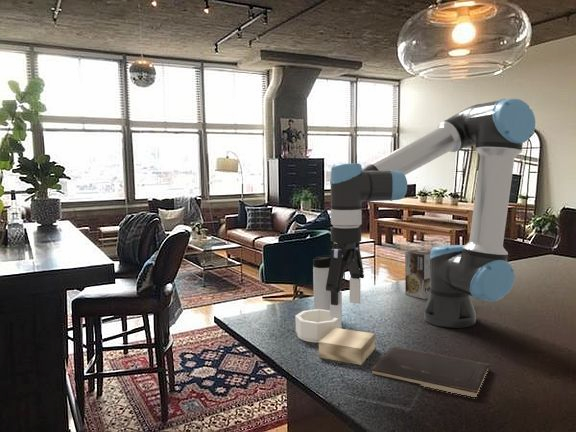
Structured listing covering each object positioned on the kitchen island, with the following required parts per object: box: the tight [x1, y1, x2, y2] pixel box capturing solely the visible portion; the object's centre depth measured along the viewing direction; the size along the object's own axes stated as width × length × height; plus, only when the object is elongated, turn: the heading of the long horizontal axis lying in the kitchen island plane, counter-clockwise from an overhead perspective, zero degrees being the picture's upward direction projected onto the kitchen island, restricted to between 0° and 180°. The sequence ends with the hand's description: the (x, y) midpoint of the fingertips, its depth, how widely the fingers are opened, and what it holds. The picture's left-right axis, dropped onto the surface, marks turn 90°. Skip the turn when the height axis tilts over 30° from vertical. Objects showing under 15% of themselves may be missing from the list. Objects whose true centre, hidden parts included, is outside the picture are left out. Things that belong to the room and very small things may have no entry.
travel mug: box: [312, 254, 331, 310], centre depth 150 cm, size 6×7×20 cm
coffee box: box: [404, 249, 431, 300], centre depth 173 cm, size 9×6×16 cm
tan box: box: [318, 328, 376, 366], centre depth 121 cm, size 11×11×4 cm
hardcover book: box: [370, 345, 490, 398], centre depth 110 cm, size 16×23×2 cm
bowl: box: [294, 308, 342, 344], centre depth 135 cm, size 12×12×6 cm
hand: (345, 309), depth 120 cm, fingers open, 13 cm apart
